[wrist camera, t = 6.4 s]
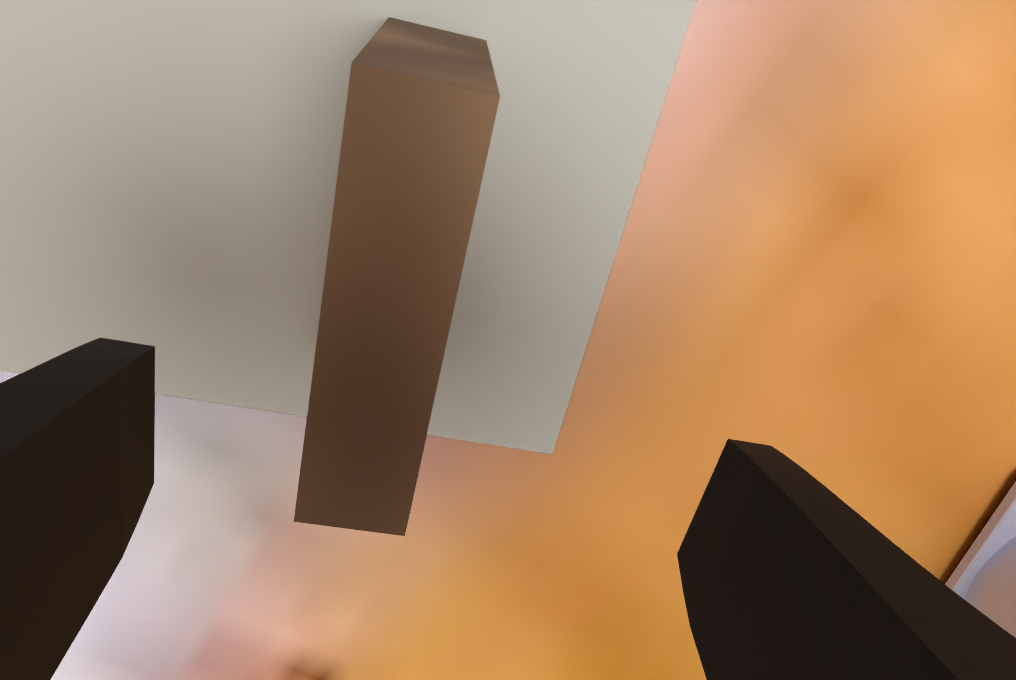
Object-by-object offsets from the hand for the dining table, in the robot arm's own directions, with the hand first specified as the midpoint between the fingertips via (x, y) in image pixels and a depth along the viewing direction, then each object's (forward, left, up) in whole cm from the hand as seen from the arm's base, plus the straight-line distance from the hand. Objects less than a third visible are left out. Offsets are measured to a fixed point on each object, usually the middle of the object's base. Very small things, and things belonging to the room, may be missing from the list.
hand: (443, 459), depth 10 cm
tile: (+1, 0, -9) cm, 9 cm away
